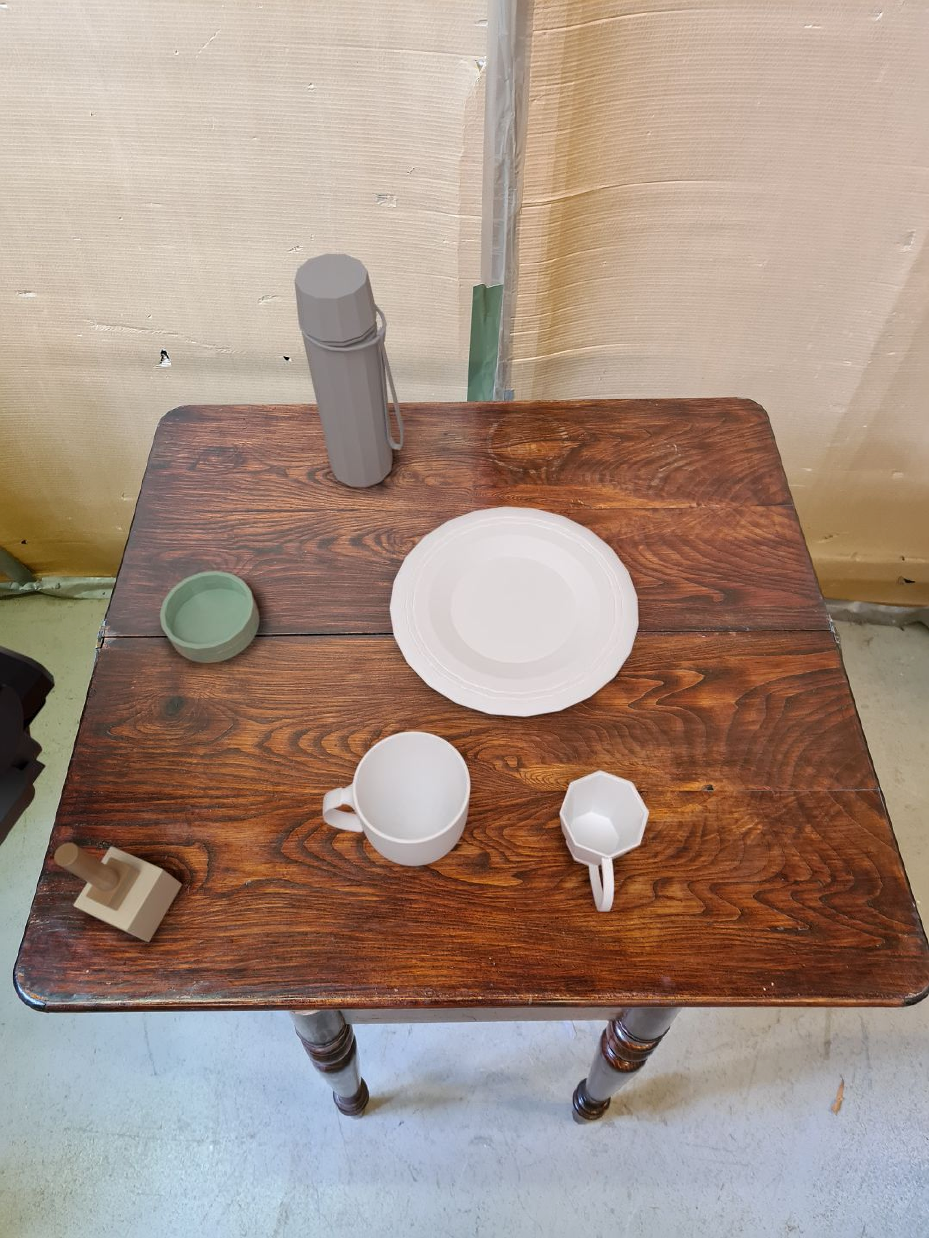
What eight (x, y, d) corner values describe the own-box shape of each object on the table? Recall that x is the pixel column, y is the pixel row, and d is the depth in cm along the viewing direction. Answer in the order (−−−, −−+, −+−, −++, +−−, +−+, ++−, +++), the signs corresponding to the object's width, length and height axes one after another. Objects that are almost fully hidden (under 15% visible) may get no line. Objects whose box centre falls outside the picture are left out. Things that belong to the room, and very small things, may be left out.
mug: (467, 780, 72) (466, 726, 62) (473, 880, 67) (474, 839, 57) (337, 788, 72) (315, 735, 61) (335, 889, 67) (310, 849, 57)
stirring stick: (95, 901, 62) (39, 870, 54) (119, 862, 63) (68, 826, 55) (117, 911, 61) (63, 881, 53) (140, 872, 63) (92, 837, 55)
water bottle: (319, 485, 90) (274, 293, 69) (346, 437, 94) (310, 242, 73) (395, 504, 89) (372, 314, 68) (419, 454, 93) (404, 260, 71)
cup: (626, 802, 71) (643, 769, 64) (640, 920, 65) (660, 898, 59) (547, 802, 71) (556, 770, 64) (555, 920, 65) (565, 899, 59)
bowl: (152, 646, 79) (141, 630, 77) (201, 576, 84) (192, 559, 81) (230, 675, 78) (222, 661, 75) (275, 603, 82) (269, 586, 79)
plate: (578, 767, 72) (581, 759, 71) (344, 658, 78) (342, 649, 77) (670, 568, 84) (674, 557, 82) (460, 486, 90) (460, 475, 89)
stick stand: (97, 918, 66) (72, 905, 61) (133, 861, 68) (110, 845, 64) (149, 942, 65) (126, 930, 60) (182, 884, 67) (163, 869, 63)
